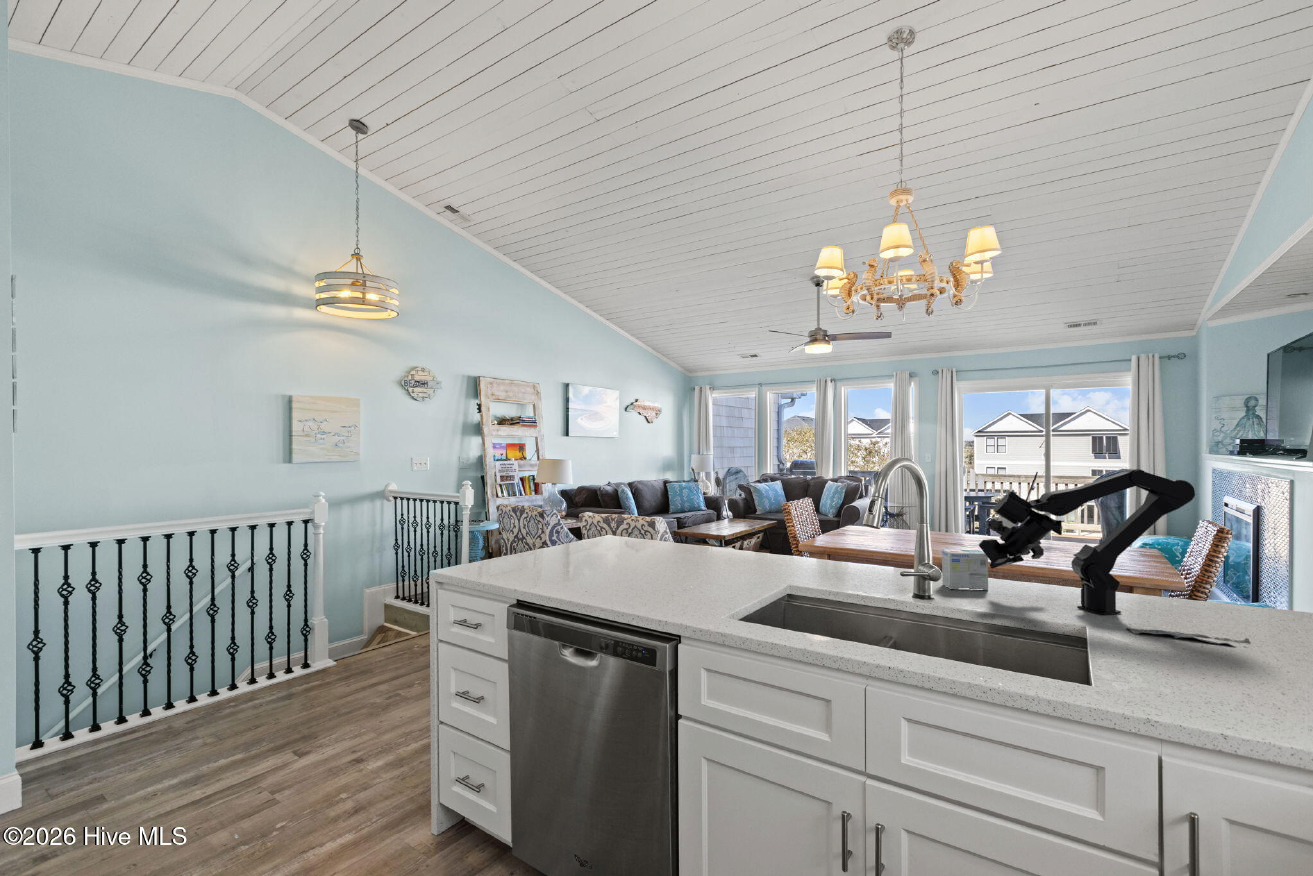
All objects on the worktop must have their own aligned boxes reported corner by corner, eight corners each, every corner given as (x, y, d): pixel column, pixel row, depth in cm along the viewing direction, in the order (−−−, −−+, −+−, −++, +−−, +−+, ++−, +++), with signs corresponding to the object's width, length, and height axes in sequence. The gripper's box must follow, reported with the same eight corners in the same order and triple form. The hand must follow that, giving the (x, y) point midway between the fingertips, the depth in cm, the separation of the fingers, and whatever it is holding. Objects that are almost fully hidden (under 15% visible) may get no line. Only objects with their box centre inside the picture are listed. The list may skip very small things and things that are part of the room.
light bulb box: (979, 586, 175) (978, 549, 175) (989, 591, 168) (989, 553, 168) (941, 585, 176) (940, 548, 176) (949, 590, 169) (949, 552, 169)
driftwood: (1128, 636, 130) (1128, 626, 130) (1123, 628, 136) (1123, 619, 136) (1258, 655, 119) (1258, 644, 119) (1247, 645, 125) (1247, 635, 125)
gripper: (1032, 507, 163) (995, 541, 173) (985, 509, 156) (949, 545, 166) (1062, 540, 156) (1021, 573, 166) (1014, 544, 148) (974, 579, 158)
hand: (991, 567), depth 164 cm, fingers closed
